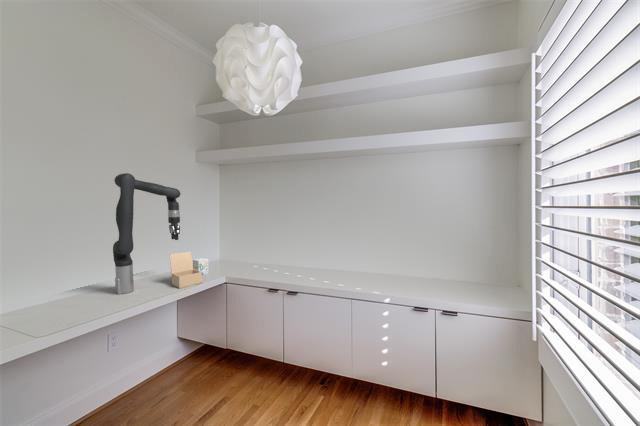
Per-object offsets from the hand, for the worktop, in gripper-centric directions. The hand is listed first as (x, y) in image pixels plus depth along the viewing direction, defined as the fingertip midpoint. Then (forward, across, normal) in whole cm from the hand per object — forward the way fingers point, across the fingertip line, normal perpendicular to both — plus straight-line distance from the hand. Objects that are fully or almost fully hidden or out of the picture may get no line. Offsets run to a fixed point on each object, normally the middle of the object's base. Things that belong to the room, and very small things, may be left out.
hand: (174, 239), depth 212 cm
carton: (+29, +18, 0) cm, 34 cm away
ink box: (+30, -2, +19) cm, 35 cm away
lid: (+15, +10, 0) cm, 18 cm away
